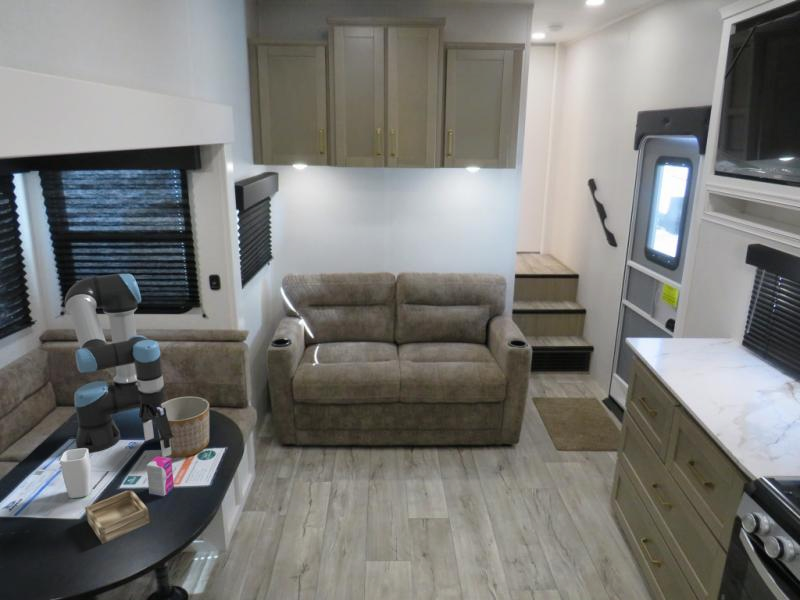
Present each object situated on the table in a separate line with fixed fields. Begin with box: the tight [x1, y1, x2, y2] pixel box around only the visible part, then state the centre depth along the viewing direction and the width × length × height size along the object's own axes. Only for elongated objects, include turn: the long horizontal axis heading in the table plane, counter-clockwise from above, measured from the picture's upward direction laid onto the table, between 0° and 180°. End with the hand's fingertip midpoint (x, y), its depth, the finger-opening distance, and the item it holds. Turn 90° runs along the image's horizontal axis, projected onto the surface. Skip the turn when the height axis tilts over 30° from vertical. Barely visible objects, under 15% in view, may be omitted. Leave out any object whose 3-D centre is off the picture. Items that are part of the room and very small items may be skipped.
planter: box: [156, 395, 210, 458], centre depth 209 cm, size 19×19×16 cm
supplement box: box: [146, 455, 175, 498], centre depth 183 cm, size 6×6×12 cm
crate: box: [84, 488, 150, 545], centre depth 169 cm, size 14×14×5 cm
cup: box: [59, 448, 92, 499], centre depth 180 cm, size 7×7×15 cm
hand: (158, 447), depth 180 cm, fingers open, 13 cm apart
